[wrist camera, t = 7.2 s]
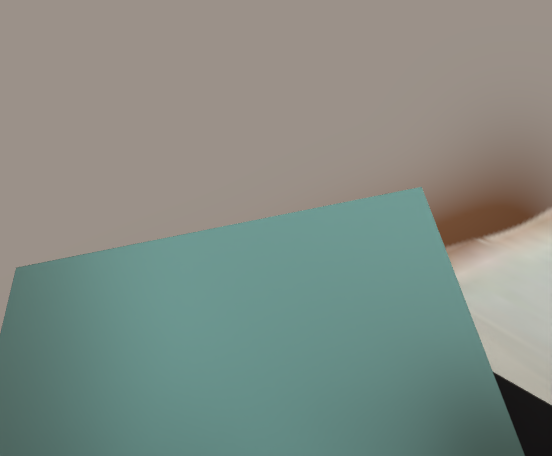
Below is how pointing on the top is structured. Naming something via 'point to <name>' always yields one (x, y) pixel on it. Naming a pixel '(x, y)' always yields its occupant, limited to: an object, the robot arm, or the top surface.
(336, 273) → the teal pillar
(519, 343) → the top surface
